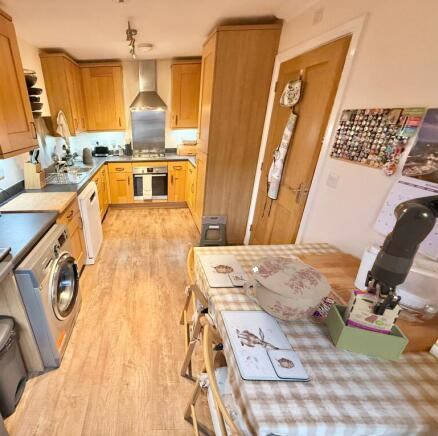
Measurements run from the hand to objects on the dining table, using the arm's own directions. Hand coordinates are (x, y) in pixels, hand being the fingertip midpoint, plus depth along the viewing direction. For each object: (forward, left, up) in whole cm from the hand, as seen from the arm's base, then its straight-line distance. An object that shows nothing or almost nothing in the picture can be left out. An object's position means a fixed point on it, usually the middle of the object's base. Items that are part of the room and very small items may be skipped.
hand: (372, 307), depth 76 cm
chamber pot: (+24, -10, -16) cm, 30 cm away
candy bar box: (0, 0, -13) cm, 13 cm away
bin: (0, 0, -15) cm, 15 cm away
